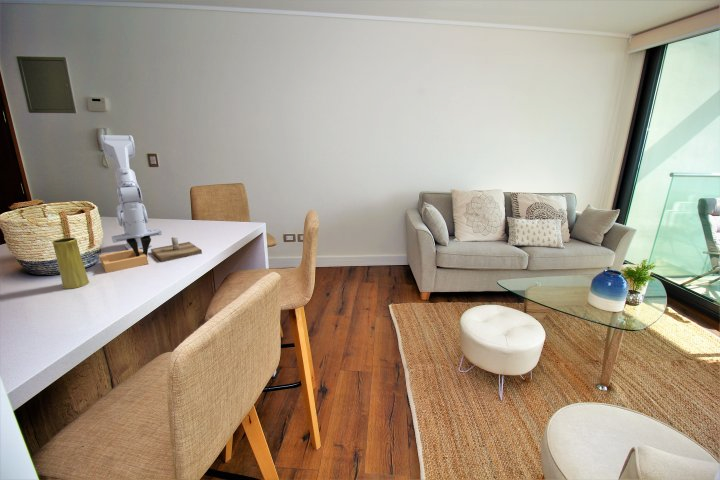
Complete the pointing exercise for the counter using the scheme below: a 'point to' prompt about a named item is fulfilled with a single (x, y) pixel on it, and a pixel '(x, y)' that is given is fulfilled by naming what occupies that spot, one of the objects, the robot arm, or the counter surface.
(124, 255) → the wooden square frame
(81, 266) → the vase
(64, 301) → the counter surface
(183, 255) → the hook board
